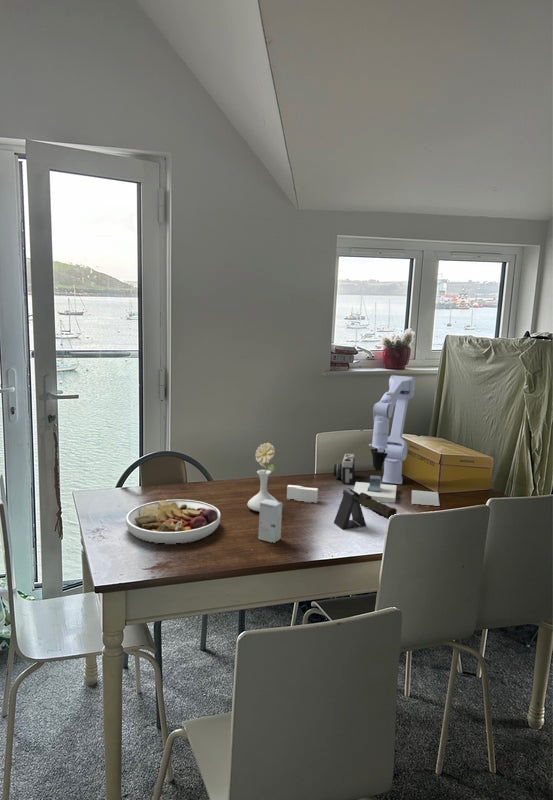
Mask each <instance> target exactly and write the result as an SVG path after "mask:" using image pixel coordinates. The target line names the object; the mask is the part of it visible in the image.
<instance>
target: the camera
mask: <svg viewBox="0 0 553 800" xmlns="http://www.w3.org/2000/svg"><path fill="white" fill-rule="evenodd" d="M333 476H334V477H337V478H339V479H341V481H342V484H343V485H353V482H354V478H355V454H354V453H344V456H343V459H342V462H341V463H334V466H333Z"/></svg>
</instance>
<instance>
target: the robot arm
mask: <svg viewBox="0 0 553 800" xmlns="http://www.w3.org/2000/svg"><path fill="white" fill-rule="evenodd" d="M388 387H389V389H388V391H386V392H385V393H384V394H383V395H382V397H381V399H380V400H379V401H376V403H374V405H373V409H372V414H373V417H372V418H373V419H372V420H373V428H372V429H373V430H372V431H373V433H372V439H371V440H372V441H371V443H369V444H368V446H369V447H372V448H370V452H371V456H372V466H373V468H374V470H375V471H380V472H381V471H382V470H383V476H382V479H381V483H382V484H393V485H395V484H397V485H402V484H403V476H402V472H403V462H404V461H406V459H407V456H408V442H407V441H406V440H405V439H404V438H403V433H404V428H405V421H406V416H407V410H408V405H409V401H410V400H411V399H412V398H414V395H415V390H416V378H415V377H414V376H407V375H405V376H404V375H394V374H391V376H390V377H389V380H388ZM394 407H395V409H394ZM393 411H394V412H393ZM392 417H393V418H392ZM391 418H392V423H391V425H392V426H391V430H390V420H391ZM389 430H390V431H391V432H390V435H389ZM383 465H384V466H383ZM382 468H383V469H382Z"/></svg>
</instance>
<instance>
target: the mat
mask: <svg viewBox="0 0 553 800" xmlns="http://www.w3.org/2000/svg"><path fill="white" fill-rule="evenodd" d="M412 504H421V505H434V506H440V496H439V492H438V491H426V490H425V491H424V490H417V489H415V490H414V489H412V490H411V505H412Z"/></svg>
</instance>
